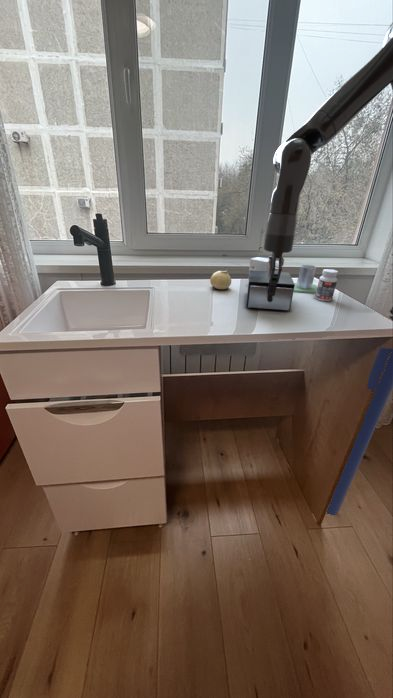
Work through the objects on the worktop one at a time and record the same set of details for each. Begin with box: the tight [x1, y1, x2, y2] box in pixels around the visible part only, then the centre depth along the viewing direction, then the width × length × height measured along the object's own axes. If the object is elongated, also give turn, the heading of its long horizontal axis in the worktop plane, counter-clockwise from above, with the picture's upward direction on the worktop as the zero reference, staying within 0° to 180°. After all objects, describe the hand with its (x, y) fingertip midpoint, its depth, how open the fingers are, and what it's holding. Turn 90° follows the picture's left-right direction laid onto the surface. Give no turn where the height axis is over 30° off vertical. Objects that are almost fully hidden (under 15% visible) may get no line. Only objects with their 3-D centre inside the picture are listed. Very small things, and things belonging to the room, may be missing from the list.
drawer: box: [248, 284, 293, 311], centre depth 92 cm, size 15×12×7 cm
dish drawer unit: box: [245, 269, 295, 312], centre depth 95 cm, size 15×14×9 cm
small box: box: [247, 256, 269, 280], centre depth 110 cm, size 8×6×10 cm
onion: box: [209, 269, 232, 291], centre depth 108 cm, size 8×8×7 cm
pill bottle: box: [314, 268, 339, 302], centre depth 99 cm, size 6×6×10 cm
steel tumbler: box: [296, 264, 317, 289], centre depth 109 cm, size 6×6×8 cm
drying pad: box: [293, 282, 317, 294], centre depth 111 cm, size 10×10×1 cm
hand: (270, 295), depth 84 cm, fingers closed
